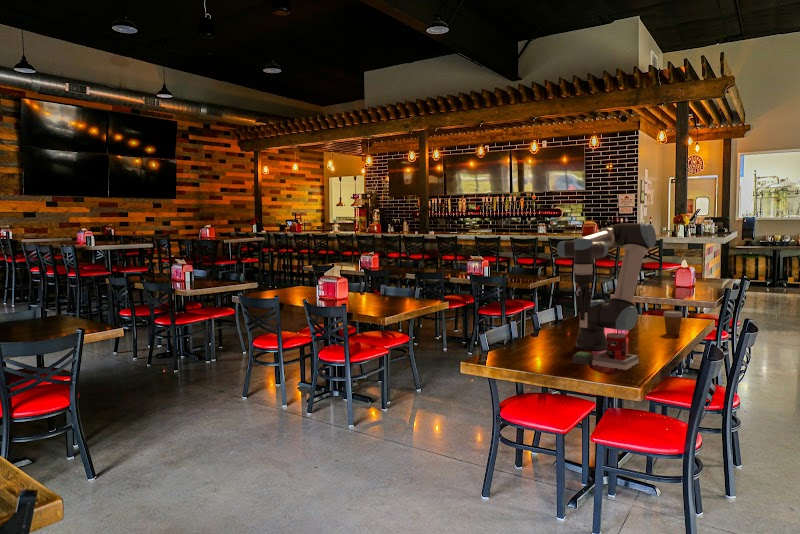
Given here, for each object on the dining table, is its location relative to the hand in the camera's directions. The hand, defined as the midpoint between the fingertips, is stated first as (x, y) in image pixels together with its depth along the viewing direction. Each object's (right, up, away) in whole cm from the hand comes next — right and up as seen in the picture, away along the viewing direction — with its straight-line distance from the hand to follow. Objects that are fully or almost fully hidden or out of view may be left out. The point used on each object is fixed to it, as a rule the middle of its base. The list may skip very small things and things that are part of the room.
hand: (583, 327), depth 252 cm
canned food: (+13, -14, -3) cm, 19 cm away
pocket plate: (+13, -16, -3) cm, 21 cm away
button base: (0, -16, +1) cm, 16 cm away
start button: (0, -15, +1) cm, 15 cm away
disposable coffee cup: (+66, -10, +58) cm, 89 cm away
